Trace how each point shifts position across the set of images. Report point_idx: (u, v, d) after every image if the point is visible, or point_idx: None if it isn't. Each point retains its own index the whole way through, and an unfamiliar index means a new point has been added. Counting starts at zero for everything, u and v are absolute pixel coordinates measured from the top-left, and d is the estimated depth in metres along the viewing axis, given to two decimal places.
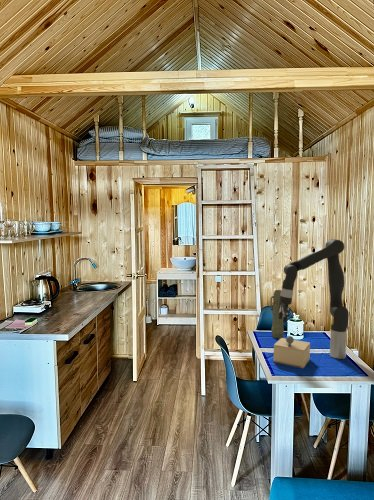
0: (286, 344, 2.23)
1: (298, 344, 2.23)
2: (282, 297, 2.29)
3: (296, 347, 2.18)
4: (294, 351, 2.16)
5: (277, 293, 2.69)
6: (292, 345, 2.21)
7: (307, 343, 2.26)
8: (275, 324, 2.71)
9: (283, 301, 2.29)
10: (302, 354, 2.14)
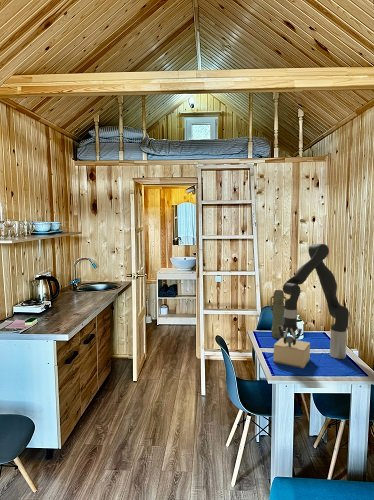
0: (286, 344, 2.23)
1: (298, 344, 2.23)
2: (292, 319, 2.15)
3: (296, 347, 2.18)
4: (294, 351, 2.16)
5: (277, 293, 2.69)
6: (292, 345, 2.21)
7: (307, 343, 2.26)
8: (275, 324, 2.71)
9: (294, 323, 2.15)
10: (302, 354, 2.14)
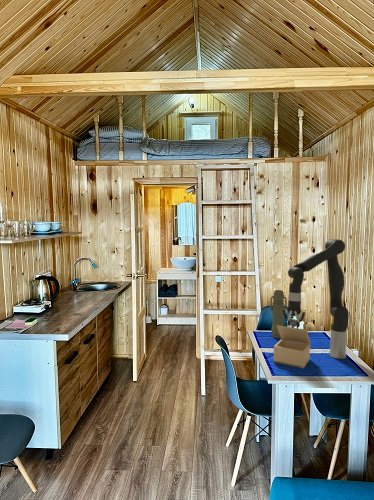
0: None
1: None
2: (296, 302, 2.21)
3: None
4: (294, 351, 2.16)
5: (277, 293, 2.69)
6: None
7: None
8: (275, 324, 2.71)
9: (298, 306, 2.21)
10: (302, 354, 2.14)
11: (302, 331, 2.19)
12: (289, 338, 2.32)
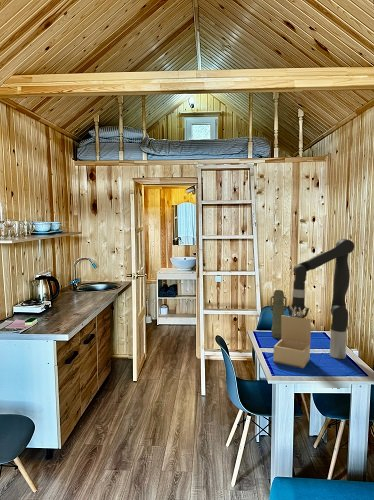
0: None
1: None
2: (300, 298, 2.30)
3: None
4: (294, 351, 2.16)
5: (277, 293, 2.69)
6: None
7: None
8: (275, 324, 2.71)
9: (302, 302, 2.30)
10: (302, 354, 2.14)
11: (306, 321, 2.26)
12: (290, 336, 2.33)
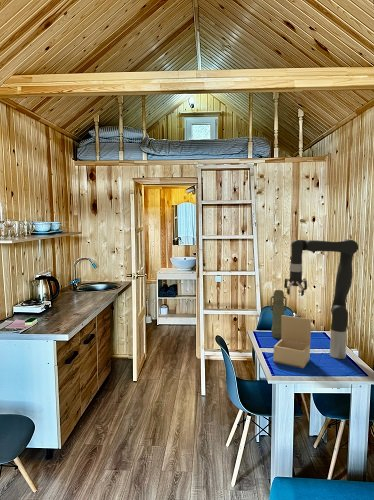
0: None
1: None
2: (298, 272, 2.33)
3: None
4: (294, 351, 2.16)
5: (277, 293, 2.69)
6: None
7: None
8: (275, 324, 2.71)
9: (299, 276, 2.34)
10: (302, 354, 2.14)
11: (306, 321, 2.26)
12: (290, 336, 2.33)
